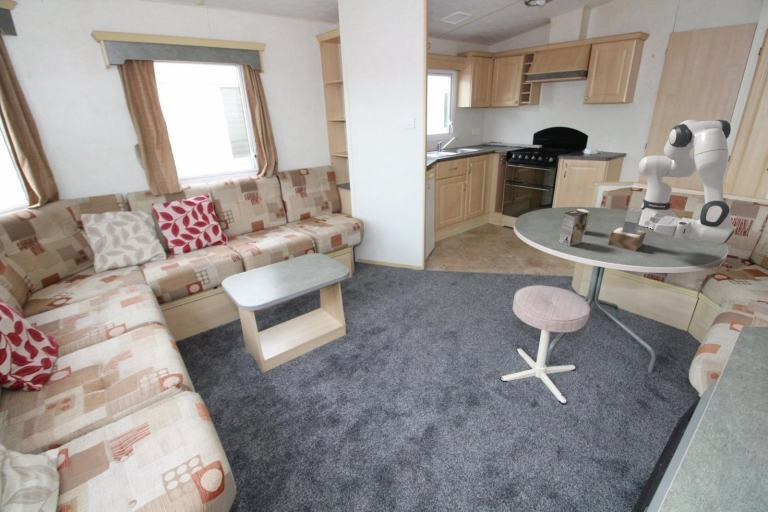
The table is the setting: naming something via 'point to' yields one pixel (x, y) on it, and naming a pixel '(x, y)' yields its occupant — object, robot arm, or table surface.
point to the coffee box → (573, 227)
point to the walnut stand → (626, 239)
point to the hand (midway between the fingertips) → (647, 220)
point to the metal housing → (632, 221)
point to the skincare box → (587, 217)
